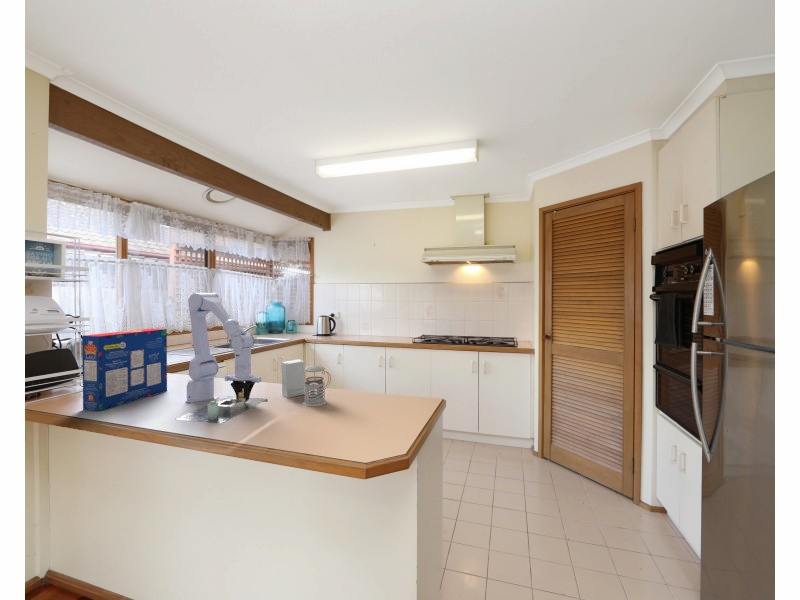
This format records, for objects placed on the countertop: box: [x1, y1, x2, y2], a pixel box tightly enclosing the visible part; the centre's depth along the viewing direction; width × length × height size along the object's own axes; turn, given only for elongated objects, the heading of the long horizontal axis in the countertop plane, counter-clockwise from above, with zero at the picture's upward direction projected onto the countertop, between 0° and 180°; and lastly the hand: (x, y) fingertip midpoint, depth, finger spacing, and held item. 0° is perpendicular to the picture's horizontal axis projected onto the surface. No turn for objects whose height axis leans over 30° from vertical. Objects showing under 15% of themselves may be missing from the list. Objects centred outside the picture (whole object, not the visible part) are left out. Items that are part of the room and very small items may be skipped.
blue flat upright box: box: [81, 327, 168, 413], centre depth 141 cm, size 28×8×28 cm, turn 167°
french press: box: [301, 340, 332, 407], centre depth 139 cm, size 10×12×25 cm
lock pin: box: [229, 391, 248, 405], centre depth 130 cm, size 2×10×4 cm, turn 169°
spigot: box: [207, 400, 218, 420], centre depth 118 cm, size 3×3×6 cm
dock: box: [174, 395, 268, 424], centre depth 128 cm, size 18×27×4 cm, turn 170°
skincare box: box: [281, 358, 305, 399], centre depth 148 cm, size 8×6×15 cm
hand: (243, 399), depth 134 cm, fingers closed on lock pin, 2 cm apart
